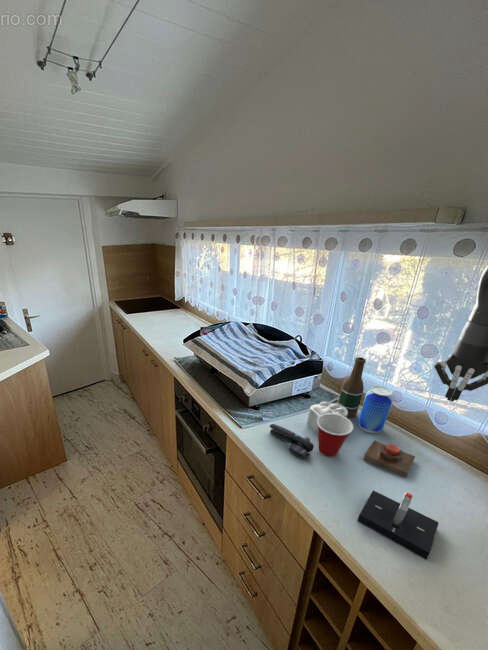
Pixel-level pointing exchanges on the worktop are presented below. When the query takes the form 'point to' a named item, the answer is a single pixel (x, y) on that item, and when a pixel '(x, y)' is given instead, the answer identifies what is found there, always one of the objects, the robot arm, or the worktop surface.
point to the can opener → (293, 441)
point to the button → (392, 449)
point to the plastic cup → (332, 433)
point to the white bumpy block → (323, 409)
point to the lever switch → (412, 531)
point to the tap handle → (402, 510)
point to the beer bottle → (353, 389)
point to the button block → (389, 459)
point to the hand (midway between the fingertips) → (450, 399)
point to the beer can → (375, 409)
